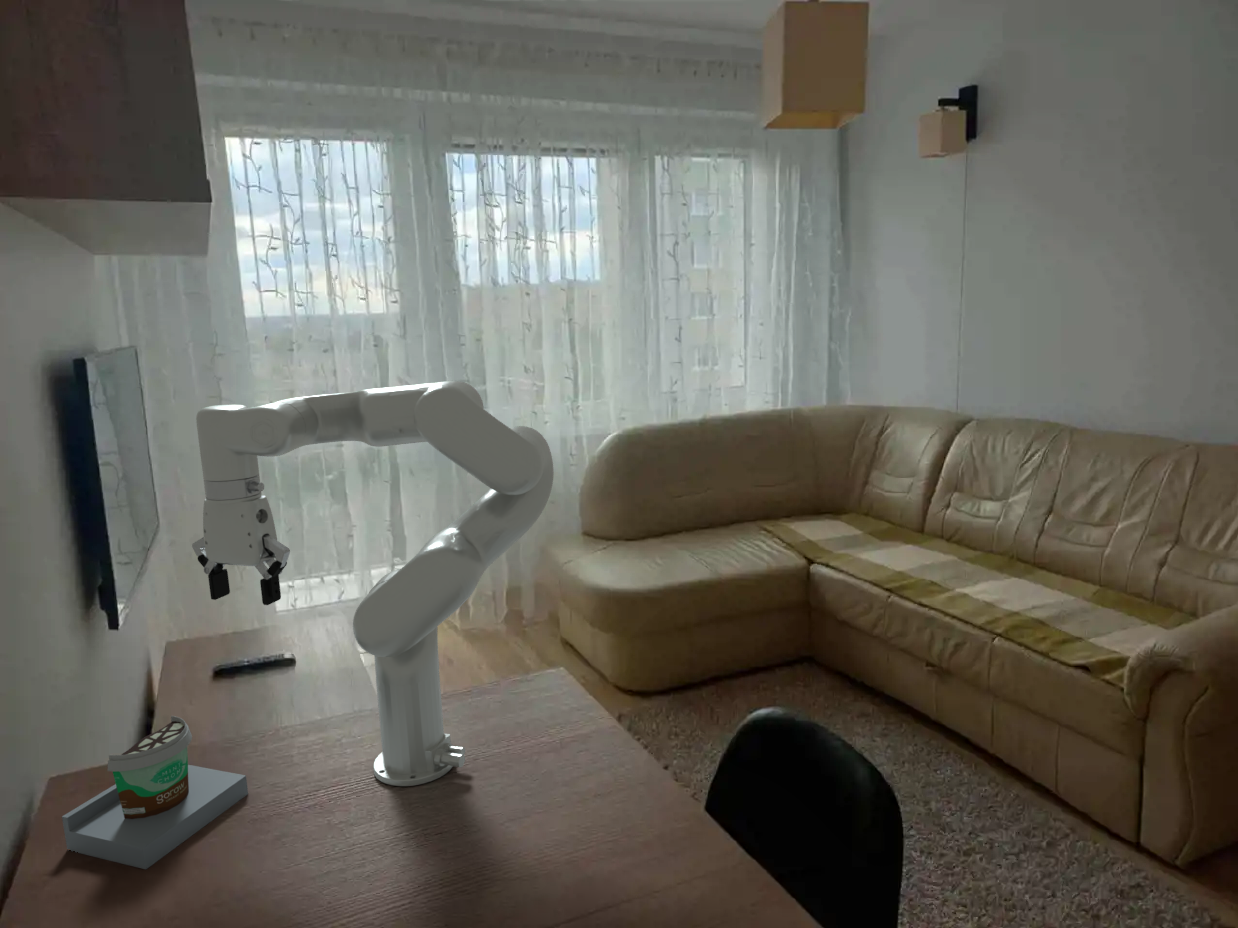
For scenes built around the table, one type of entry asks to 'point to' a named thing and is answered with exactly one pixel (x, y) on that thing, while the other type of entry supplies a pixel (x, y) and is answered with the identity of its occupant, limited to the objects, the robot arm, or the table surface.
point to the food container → (153, 771)
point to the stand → (150, 820)
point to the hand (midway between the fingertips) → (246, 599)
